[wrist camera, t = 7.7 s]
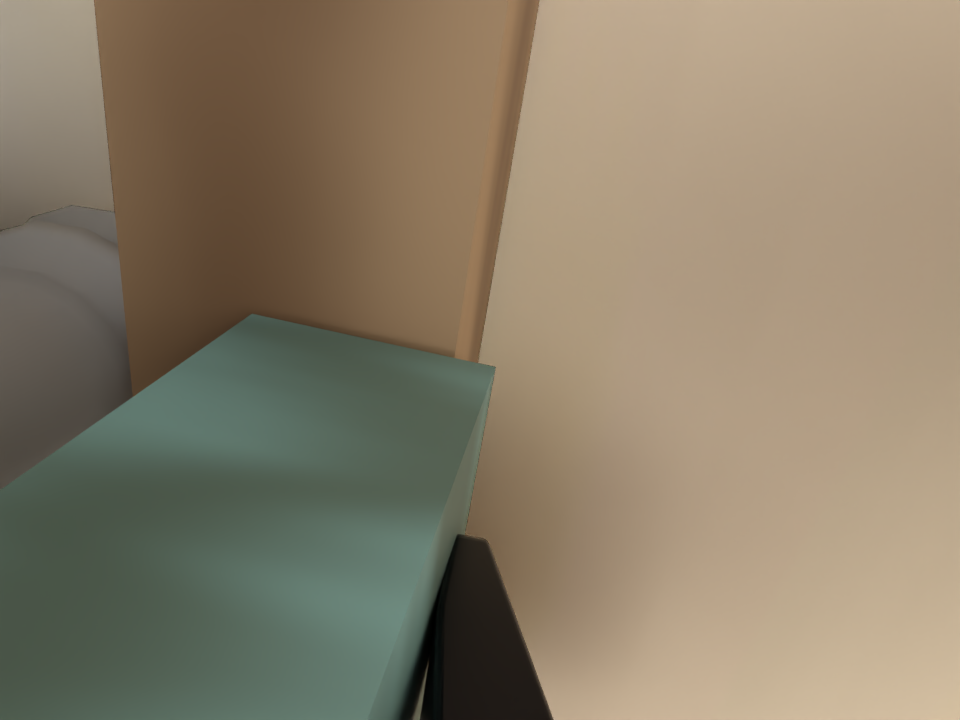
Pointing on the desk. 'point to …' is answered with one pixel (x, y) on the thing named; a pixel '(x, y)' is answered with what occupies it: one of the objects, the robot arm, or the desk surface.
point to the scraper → (274, 364)
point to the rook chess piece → (59, 333)
